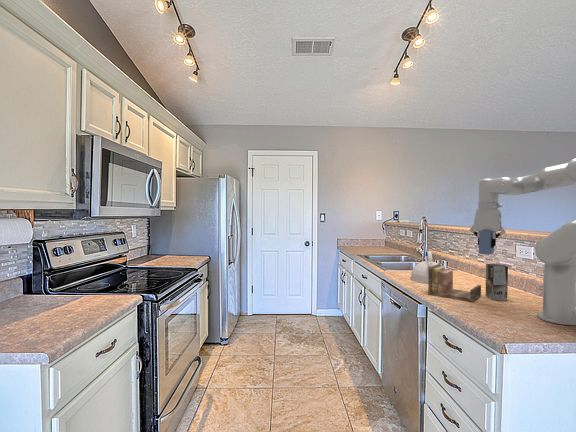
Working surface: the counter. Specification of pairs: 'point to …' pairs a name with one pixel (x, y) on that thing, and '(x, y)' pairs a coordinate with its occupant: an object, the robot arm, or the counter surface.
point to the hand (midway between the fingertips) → (486, 246)
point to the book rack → (448, 285)
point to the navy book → (485, 242)
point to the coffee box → (497, 281)
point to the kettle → (422, 269)
